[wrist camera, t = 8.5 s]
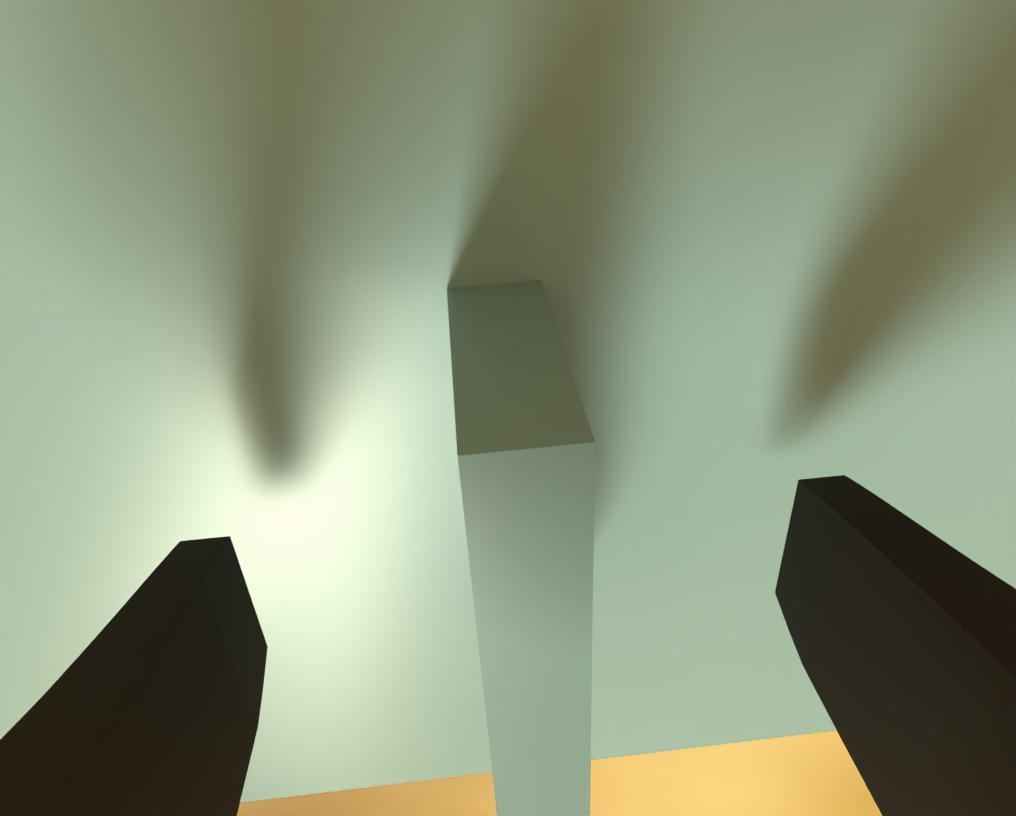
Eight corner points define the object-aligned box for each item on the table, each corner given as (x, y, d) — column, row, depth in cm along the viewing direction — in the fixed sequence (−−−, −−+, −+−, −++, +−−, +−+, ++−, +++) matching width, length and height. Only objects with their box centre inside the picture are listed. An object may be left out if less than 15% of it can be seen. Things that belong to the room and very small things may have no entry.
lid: (1261, -209, 9) (2130, -359, 4) (930, 644, 17) (1111, 898, 13) (-454, -115, 8) (-1641, -182, 3) (76, 743, 16) (-58, 1057, 12)
